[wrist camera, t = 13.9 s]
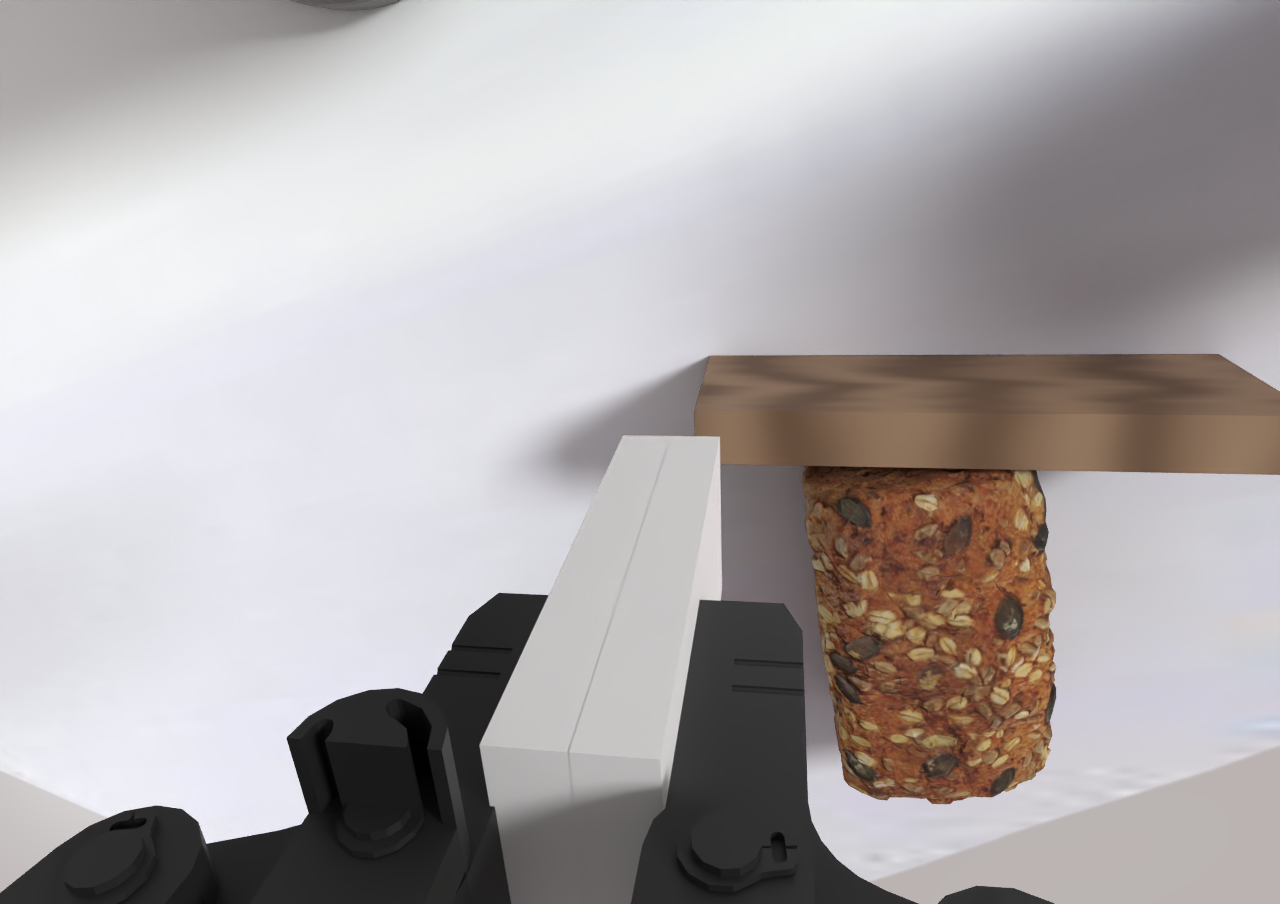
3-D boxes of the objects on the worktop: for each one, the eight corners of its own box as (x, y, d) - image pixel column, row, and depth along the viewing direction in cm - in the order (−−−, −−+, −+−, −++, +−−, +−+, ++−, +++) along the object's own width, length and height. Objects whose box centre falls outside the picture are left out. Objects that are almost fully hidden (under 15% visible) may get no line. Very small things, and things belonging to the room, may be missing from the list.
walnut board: (710, 400, 43) (695, 463, 36) (709, 355, 42) (694, 411, 35) (1206, 403, 39) (1301, 475, 32) (1218, 354, 38) (1319, 415, 31)
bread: (797, 425, 43) (801, 513, 34) (1012, 400, 41) (1076, 488, 32) (833, 702, 50) (843, 836, 41) (1017, 694, 48) (1072, 835, 39)
